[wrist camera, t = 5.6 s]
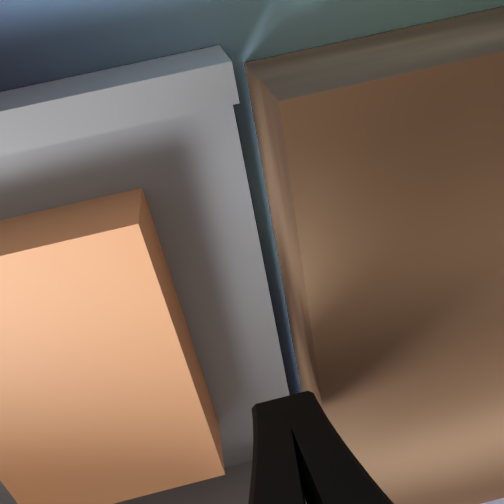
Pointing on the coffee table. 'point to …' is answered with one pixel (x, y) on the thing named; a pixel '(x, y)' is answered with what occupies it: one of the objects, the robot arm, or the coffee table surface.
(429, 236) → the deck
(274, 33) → the coffee table surface
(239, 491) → the tray
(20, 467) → the tan rectangular block
